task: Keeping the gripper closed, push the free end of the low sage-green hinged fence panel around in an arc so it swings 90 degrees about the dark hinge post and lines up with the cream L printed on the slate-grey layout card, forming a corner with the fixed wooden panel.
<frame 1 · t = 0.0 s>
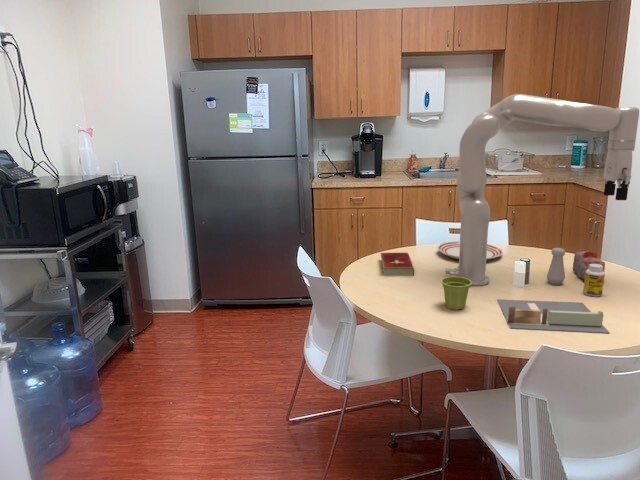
hand: (614, 197, 159), 31 cm above the table, fingers open, 9 cm apart
dinner plate: (469, 256, 207), on the table
food item: (586, 277, 175), on the table
salt shaker: (555, 283, 170), on the table
supplement bottle: (592, 294, 158), on the table
layout card: (548, 315, 143), on the table
plant pot: (455, 307, 152), on the table
hardcover book: (396, 269, 193), on the table
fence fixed: (543, 324, 137), resting on layout card
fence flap: (575, 317, 135), point 3 cm above the table, hinge at 0.0°
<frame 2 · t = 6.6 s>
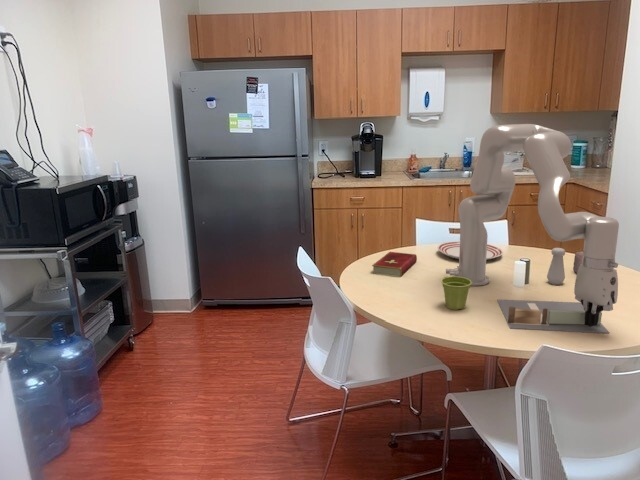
hand: (590, 324, 132), 2 cm above the table, fingers closed
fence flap: (574, 316, 135), point 3 cm above the table, hinge at 4.2°, touching gripper
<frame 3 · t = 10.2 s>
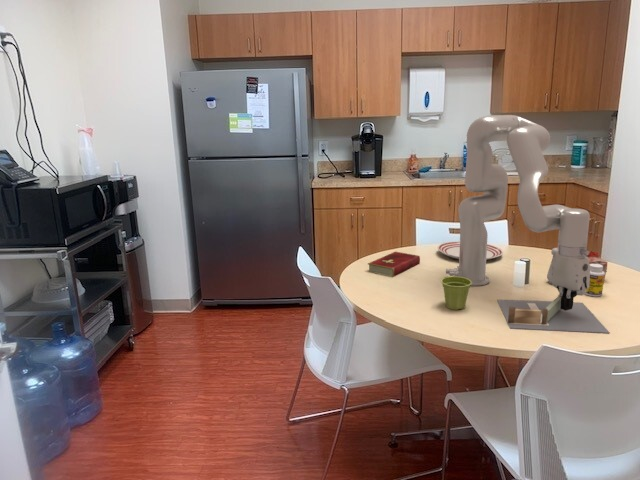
hand: (566, 308, 143), 2 cm above the table, fingers closed
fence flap: (553, 307, 142), point 3 cm above the table, hinge at 58.8°, touching gripper
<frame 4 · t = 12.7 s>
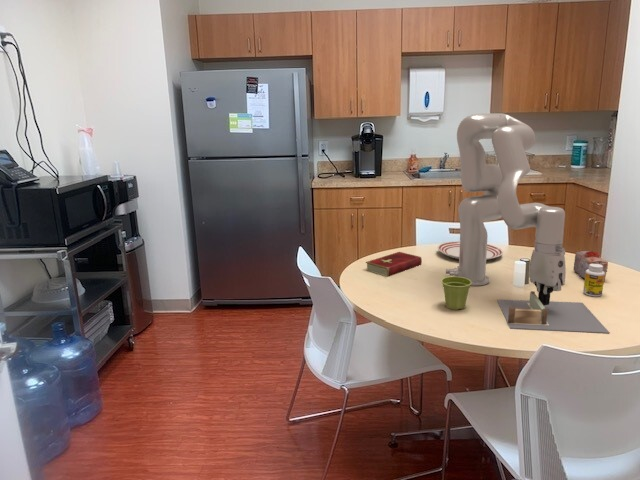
hand: (543, 304, 147), 2 cm above the table, fingers closed
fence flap: (537, 305, 144), point 3 cm above the table, hinge at 90.2°, touching gripper
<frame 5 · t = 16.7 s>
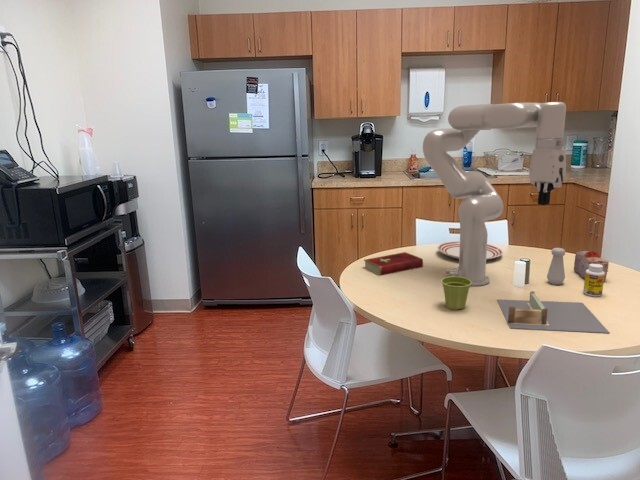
hand: (543, 204, 146), 32 cm above the table, fingers closed
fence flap: (537, 305, 144), point 3 cm above the table, hinge at 90.3°
at the end: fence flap at +90° (first picture: +0°) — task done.
